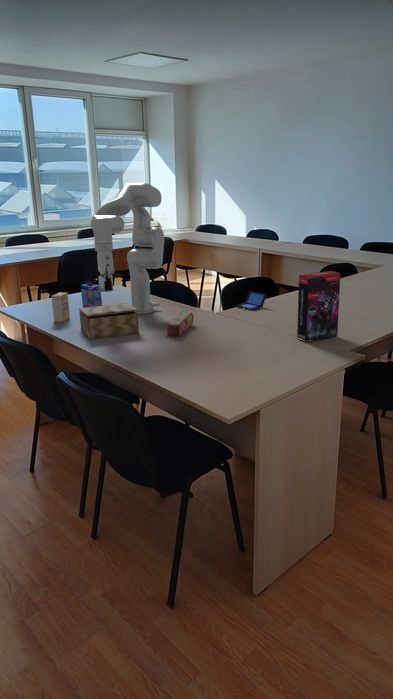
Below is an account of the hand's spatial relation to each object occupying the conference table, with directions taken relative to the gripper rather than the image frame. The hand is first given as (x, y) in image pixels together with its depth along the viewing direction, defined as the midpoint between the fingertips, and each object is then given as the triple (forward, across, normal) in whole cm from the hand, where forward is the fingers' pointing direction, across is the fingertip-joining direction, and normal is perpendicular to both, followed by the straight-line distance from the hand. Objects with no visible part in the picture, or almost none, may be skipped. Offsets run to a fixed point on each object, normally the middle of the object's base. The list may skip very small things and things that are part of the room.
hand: (106, 288), depth 227 cm
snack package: (+20, -13, -29) cm, 38 cm away
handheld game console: (+19, +11, -78) cm, 81 cm away
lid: (+10, 0, 0) cm, 10 cm away
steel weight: (+1, 0, 0) cm, 1 cm away
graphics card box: (+19, -49, -76) cm, 93 cm away
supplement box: (+19, +28, +16) cm, 38 cm away
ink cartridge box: (+19, +47, -3) cm, 51 cm away
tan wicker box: (+19, 0, 0) cm, 19 cm away
